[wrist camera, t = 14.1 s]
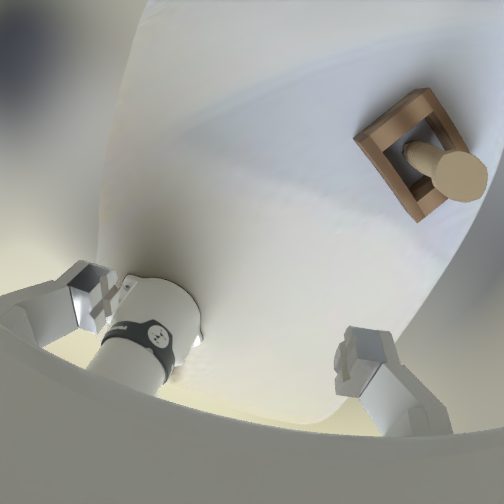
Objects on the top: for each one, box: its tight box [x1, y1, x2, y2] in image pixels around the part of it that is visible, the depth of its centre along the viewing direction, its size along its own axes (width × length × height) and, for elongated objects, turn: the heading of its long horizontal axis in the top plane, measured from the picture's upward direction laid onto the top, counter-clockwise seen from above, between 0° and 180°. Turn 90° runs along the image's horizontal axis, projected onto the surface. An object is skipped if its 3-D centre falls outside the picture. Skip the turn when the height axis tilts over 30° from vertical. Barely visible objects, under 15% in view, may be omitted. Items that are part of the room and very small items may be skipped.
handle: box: [402, 141, 488, 202], centre depth 29 cm, size 5×6×15 cm
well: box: [353, 88, 470, 223], centre depth 33 cm, size 12×13×5 cm
